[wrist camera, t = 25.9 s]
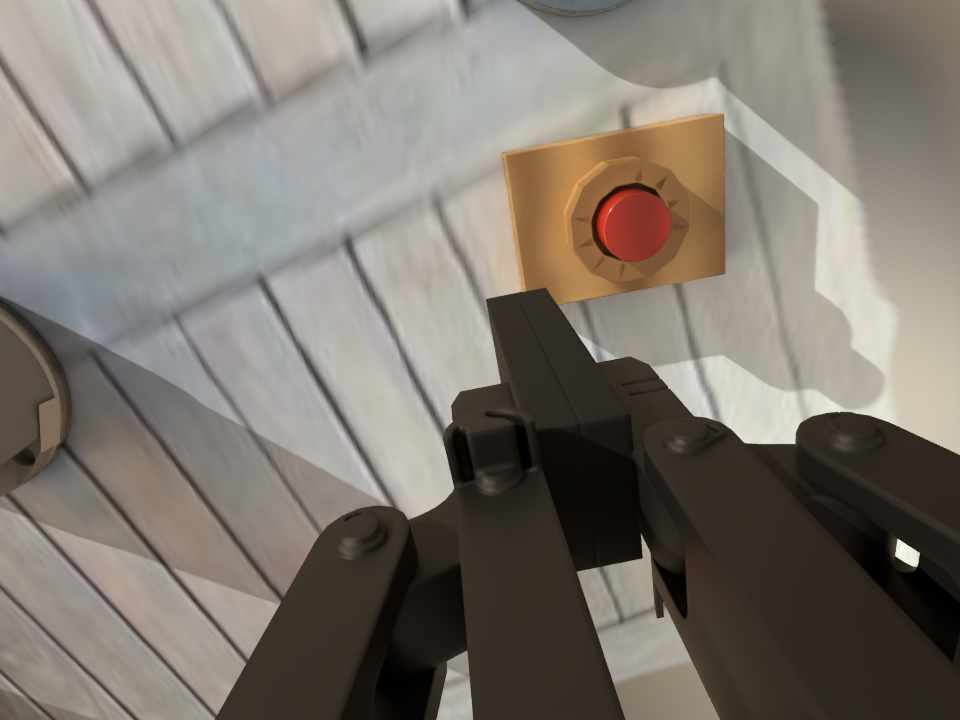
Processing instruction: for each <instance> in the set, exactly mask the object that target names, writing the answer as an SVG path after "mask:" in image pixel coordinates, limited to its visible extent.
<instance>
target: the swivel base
mask: <svg viewBox="0 0 960 720" xmlns="http://www.w3.org/2000/svg"><path fill="white" fill-rule="evenodd" d="M519 1H521V2H523V3H525V4H527V5H529V6H531V7H533V8H536V9H538V10H541V11H544V12H547V13H552V14H557V15H562V16H584V15H593V14H597V13H601V12H605V11H609V10H611V9H614V8H616V7H618V6H621V5H623V4H625V3H627V2H629V1H631V0H519Z"/></svg>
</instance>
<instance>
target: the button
mask: <svg viewBox="0 0 960 720" xmlns="http://www.w3.org/2000/svg"><path fill="white" fill-rule="evenodd" d="M596 231H597V235H598V238H599V240H600V241H601V243H602V244H603V245H604V247H605V248H607V249H608V250H609V251H610V252H611V253H613V254H614V255H615V256H616V257H618V258H620V259H622V260H625V261H631V262H636V261H642V260H645V259H648V258H650V257H652V256H653V255H655V254H656V253H657V252H658V251H659V250H660V249H661V248H662V247H663V246H664V244H665V243H666V241H667V239H668V237H669V234H670V231H671V215H670V212H669V209H668V207H667V206H666V204H665V203H664V202H663V201H662V200H661V199H660V198H659V197H657V196H655V195H653V194H651V193H648V192H646V191H644V190H640V189H635V188H629V189H624V190H621V191H618V192H616V193H614V194H613V195H611V196H610V197H609V198H608V199H607V200H606V201H605V202H604V203H603V205H602V206H601V208H600V210H599V212H598V215H597V220H596Z"/></svg>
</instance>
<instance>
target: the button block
mask: <svg viewBox="0 0 960 720" xmlns="http://www.w3.org/2000/svg"><path fill="white" fill-rule="evenodd" d="M502 160H503V167H504V174H505V180H506V187H507V193H508V200H509V207H510V213H511V220H512V226H513V233H514V240H515V246H516V253H517V259H518V266H519V273H520V279H521V286H522V292H525V291H530V290H535V289H540V288H545V287H546V289H547V290H548V292H549V293H550V295H551V296H552V298H553V299H554V301H555V302H556V304H557V305H561V304H566V303H572V302H577V301H582V300H588V299H593V298H598V297H604V296H609V295H615V294H620V293H625V292H631V291H636V290H641V289H647V288H652V287H658V286H663V285H668V284H674V283H679V282H684V281H690V280H695V279H701V278H706V277H711V276H717V275H722V274H725V195H724V114H702V115H697V116H692V117H686V118H681V119H676V120H671V121H665V122H660V123H655V124H649V125H644V126H639V127H634V128H628V129H623V130H618V131H613V132H607V133H602V134H597V135H591V136H586V137H581V138H576V139H570V140H565V141H560V142H554V143H549V144H544V145H539V146H533V147H528V148H523V149H517V150H512V151H507V152H502ZM629 188H635V189H640V190H644V191H646V192H648V193H651V194H653V195H655V196H657V197H659V198H660V199H661V200H662V201H663V202H664V203H665V204H666V206H667V207H668V209H669V212H670V215H671V231H670V234H669V237H668V239H667V241H666V243H665V244H664V246H663V247H662V248H661V249H660V250H659V251H658V252H657V253H656V254H655V255H653V256H652V257H650V258H648V259H645V260H642V261H636V262H631V261H625V260H622V259H620V258H618V257H616V256H615V255H614V254H613V253H611V252H610V251H609V250H608V249H607V248H605V247H604V245H603V244H602V243H601V241H600V240H599V238H598V235H597V231H596V220H597V215H598V212H599V210H600V208H601V206H602V205H603V203H604V202H605V201H606V200H607V199H608V198H609V197H610V196H611V195H613V194H614V193H616V192H618V191H621V190H624V189H629Z"/></svg>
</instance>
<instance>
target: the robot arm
mask: <svg viewBox="0 0 960 720" xmlns="http://www.w3.org/2000/svg"><path fill="white" fill-rule="evenodd" d="M486 302H487V307H488V313H489V319H490V324H491V330H492V335H493V341H494V346H495V352H496V358H497V363H498V369H499V374H500V380H501V384H497V385H492V386H487V387H482V388H477V389H472V390H467V391H462V392H460V393H459V394H458V396H457V398H456V399H455V401H454V402H453V404H452V405H451V408H452V419H453V422H452V423H451V424H450V425H449V426H448V427H447V428H446V430H445V433H444V437H443V441H444V445H445V450H446V454H447V458H448V462H449V467H450V471H451V475H452V480H453V484H454V490H453V492H452V493H451V494H450V495H449V496H448V498H447V499H446V500H445V501H443V502H442V503H441V504H439V505H438V506H437V507H436V508H434V509H432V510H430V511H428V512H426V513H424V514H422V515H420V516H417V517H415V518H413V519H410V520H407V518H406V516H405V515H404V513H403V512H401V511H399V510H397V509H395V508H393V507H387V506H371V507H365V508H360V509H357V510H355V511H352V512H350V513H347V514H345V515H343V516H341V517H340V518H338V519H337V520H335V521H334V522H333V523H331V524H330V525H328V526H327V527H326V528H325V530H324V531H323V532H322V533H321V535H320V536H319V537H318V538H317V540H316V542H315V543H314V545H313V547H312V549H311V550H310V552H309V554H308V556H307V558H306V559H305V561H304V563H303V565H302V566H301V568H300V570H299V572H298V573H297V575H296V577H295V579H294V581H293V582H292V584H291V586H290V588H289V589H288V591H287V593H286V595H285V596H284V598H283V600H282V602H281V604H280V605H279V607H278V609H277V611H276V612H275V614H274V616H273V618H272V619H271V621H270V623H269V625H268V627H267V628H266V630H265V632H264V634H263V635H262V637H261V639H260V641H259V642H258V644H257V646H256V648H255V650H254V651H253V653H252V655H251V657H250V658H249V660H248V662H247V664H246V665H245V667H244V669H243V671H242V673H241V674H240V676H239V678H238V680H237V681H236V683H235V685H234V687H233V688H232V690H231V692H230V694H229V696H228V697H227V699H226V701H225V703H224V704H223V706H222V708H221V710H220V711H219V713H218V715H217V717H216V719H215V720H436V719H437V714H438V710H439V705H440V700H441V696H442V691H443V687H444V682H445V678H446V673H447V661H448V660H449V659H451V658H453V657H455V656H457V655H459V654H461V653H463V652H465V651H467V650H468V661H469V673H470V685H471V697H472V709H473V720H625V717H624V714H623V711H622V708H621V705H620V702H619V699H618V696H617V693H616V690H615V687H614V684H613V681H612V678H611V675H610V672H609V669H608V666H607V663H606V660H605V657H604V654H603V651H602V648H601V645H600V642H599V639H598V636H597V633H596V630H595V627H594V624H593V621H592V617H591V614H590V611H589V608H588V605H587V602H586V599H585V596H584V593H583V590H582V587H581V584H580V581H579V578H578V575H577V571H582V570H587V569H592V568H597V567H602V566H607V565H612V564H616V563H621V562H626V561H631V560H636V559H641V558H643V557H642V544H641V534H642V536H643V538H644V540H645V542H646V544H647V546H648V548H649V550H650V552H651V565H652V578H653V591H654V605H655V611H656V616H657V618H662V617H664V611H663V602H664V603H665V605H666V608H667V610H668V612H669V614H670V616H671V618H672V620H673V622H674V624H675V626H676V628H677V631H678V633H679V635H680V637H681V639H682V641H683V643H684V645H685V647H686V649H687V651H688V653H689V656H690V658H691V660H692V662H693V664H694V666H695V668H696V670H697V672H698V674H699V676H700V678H701V681H702V682H703V685H704V686H705V689H706V691H707V693H708V695H709V697H710V699H711V701H712V703H713V705H714V708H715V709H716V712H717V714H718V716H719V718H720V720H960V455H958V454H956V453H954V452H952V451H950V450H948V449H945V448H943V447H941V446H939V445H937V444H935V443H933V442H930V441H928V440H926V439H924V438H922V437H920V436H917V435H915V434H913V433H911V432H909V431H907V430H904V429H902V428H900V427H898V426H896V425H894V424H891V423H889V422H886V421H884V420H881V419H878V418H875V417H872V416H868V415H861V414H855V413H852V412H841V413H838V412H833V413H825V414H821V415H817V416H812V417H810V418H808V419H807V420H805V421H803V422H802V423H800V425H799V427H798V429H797V431H796V444H747V443H744V442H743V441H742V440H741V439H740V438H739V437H738V436H737V435H736V434H735V433H734V432H733V431H732V430H731V429H729V428H728V427H727V426H725V425H724V424H722V423H721V422H717V421H714V420H711V419H708V418H704V417H694V416H693V415H692V414H691V413H690V411H689V410H688V409H687V408H686V407H685V406H684V405H683V403H682V402H681V401H680V400H679V399H678V398H677V397H676V395H675V394H674V393H673V392H672V391H671V390H670V389H668V386H667V385H666V384H665V383H664V382H663V380H662V379H659V376H658V375H657V374H656V372H655V371H654V370H653V369H652V368H651V367H650V366H649V365H648V364H646V363H644V362H641V361H639V360H637V359H635V358H632V357H625V358H620V359H615V360H610V361H605V362H599V363H596V361H595V360H594V358H593V357H592V356H591V354H590V353H589V351H588V350H587V348H586V347H585V345H584V344H583V342H582V341H581V339H580V338H579V336H578V335H577V333H576V332H575V330H574V329H573V327H572V326H571V324H570V323H569V321H568V320H567V318H566V317H565V315H564V314H563V312H562V311H561V309H560V308H559V306H558V305H557V304H556V302H555V301H554V299H553V298H552V296H551V295H550V293H549V292H548V290H547V289H546V287H545V288H540V289H535V290H530V291H525V292H520V293H515V294H509V295H504V296H499V297H494V298H489V299H486ZM70 419H71V401H70V394H69V390H68V385H67V382H66V379H65V376H64V374H63V372H62V369H61V367H60V365H59V363H58V361H57V359H56V358H55V356H54V354H53V353H52V351H51V350H50V348H49V347H48V345H47V344H46V342H45V341H44V340H43V339H42V338H41V336H40V335H39V334H38V333H37V332H36V331H35V330H34V329H33V327H32V326H31V325H30V324H29V323H28V322H27V321H25V320H24V319H23V318H22V317H21V316H20V315H19V314H18V313H16V312H15V311H14V310H12V309H11V308H10V307H9V306H7V305H6V304H4V303H3V302H1V301H0V497H1V496H3V495H5V494H8V493H9V492H11V491H13V490H15V489H16V488H18V487H19V486H21V485H23V484H24V483H26V482H27V481H29V480H30V479H31V478H33V477H34V476H35V475H36V474H37V473H38V472H40V471H41V470H42V469H43V468H44V467H45V466H46V465H47V464H48V463H49V462H50V461H51V460H52V459H53V458H54V457H55V456H56V454H57V453H58V452H59V450H60V449H61V447H62V445H63V443H64V441H65V439H66V436H67V434H68V430H69V426H70ZM897 538H898V539H899V540H901V541H902V542H904V543H905V544H907V545H909V546H910V547H912V548H913V549H915V550H916V551H918V552H920V557H919V563H918V566H917V567H913V566H911V565H909V564H907V563H905V562H903V561H901V560H900V559H898V558H897V557H895V552H896V545H897Z"/></svg>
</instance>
